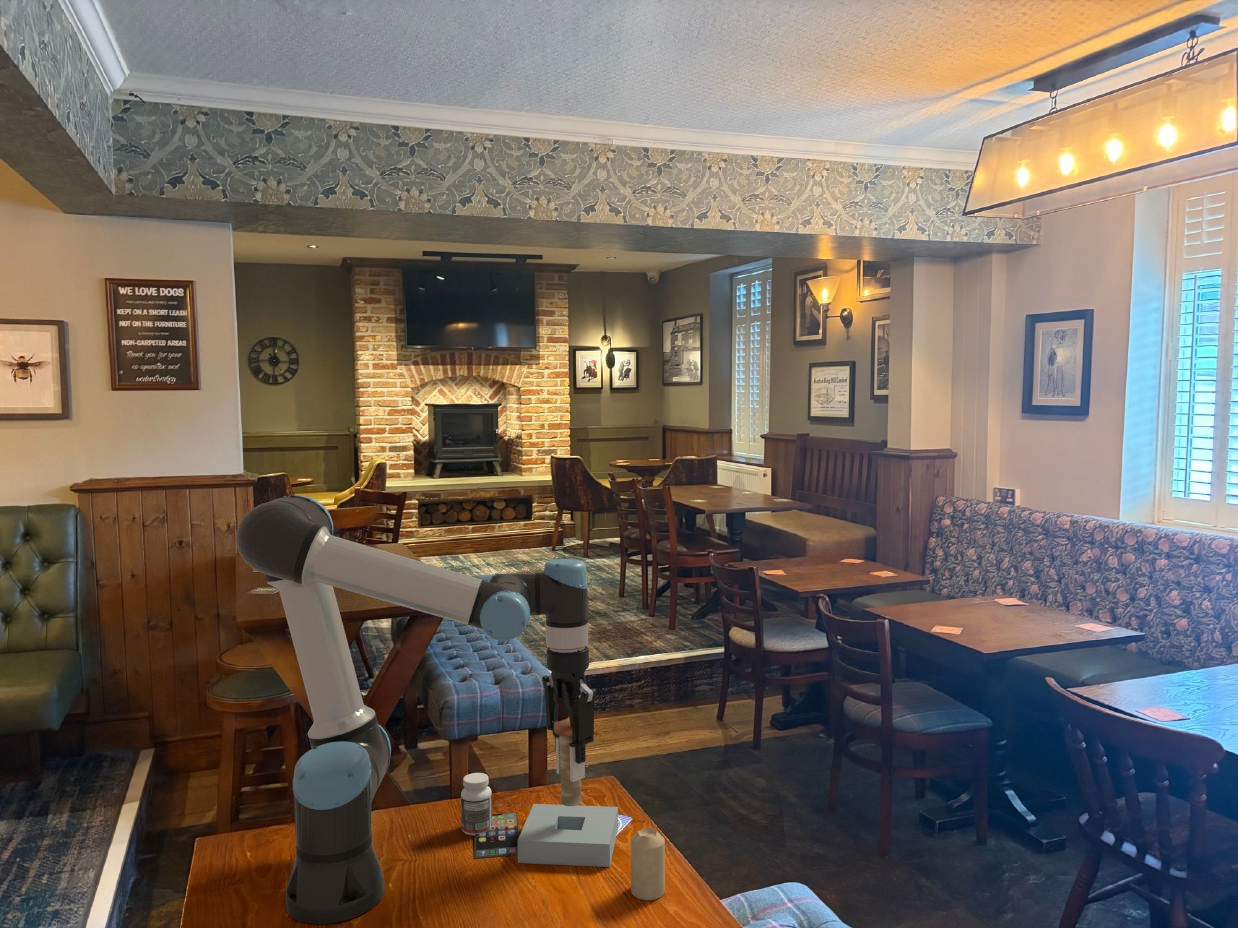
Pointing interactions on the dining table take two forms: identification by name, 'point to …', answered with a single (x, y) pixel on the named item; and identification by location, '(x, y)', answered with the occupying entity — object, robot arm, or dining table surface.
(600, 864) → the block
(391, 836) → the dining table surface
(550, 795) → the dining table surface
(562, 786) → the peg
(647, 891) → the candle
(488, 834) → the smartphone
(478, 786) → the pill bottle
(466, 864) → the dining table surface
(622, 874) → the dining table surface
